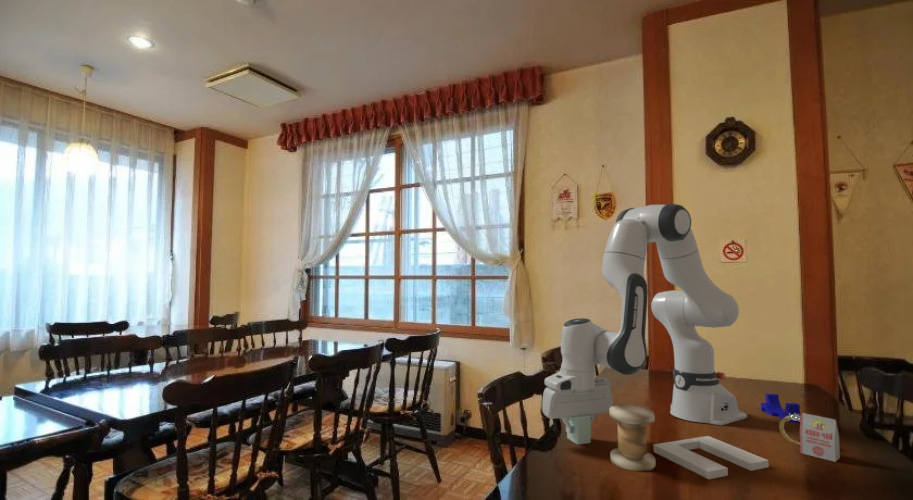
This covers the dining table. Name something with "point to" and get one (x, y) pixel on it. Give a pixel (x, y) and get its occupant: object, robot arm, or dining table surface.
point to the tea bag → (819, 437)
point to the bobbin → (632, 437)
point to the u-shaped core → (702, 465)
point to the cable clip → (779, 407)
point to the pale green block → (580, 429)
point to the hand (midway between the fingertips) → (578, 431)
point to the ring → (787, 418)
